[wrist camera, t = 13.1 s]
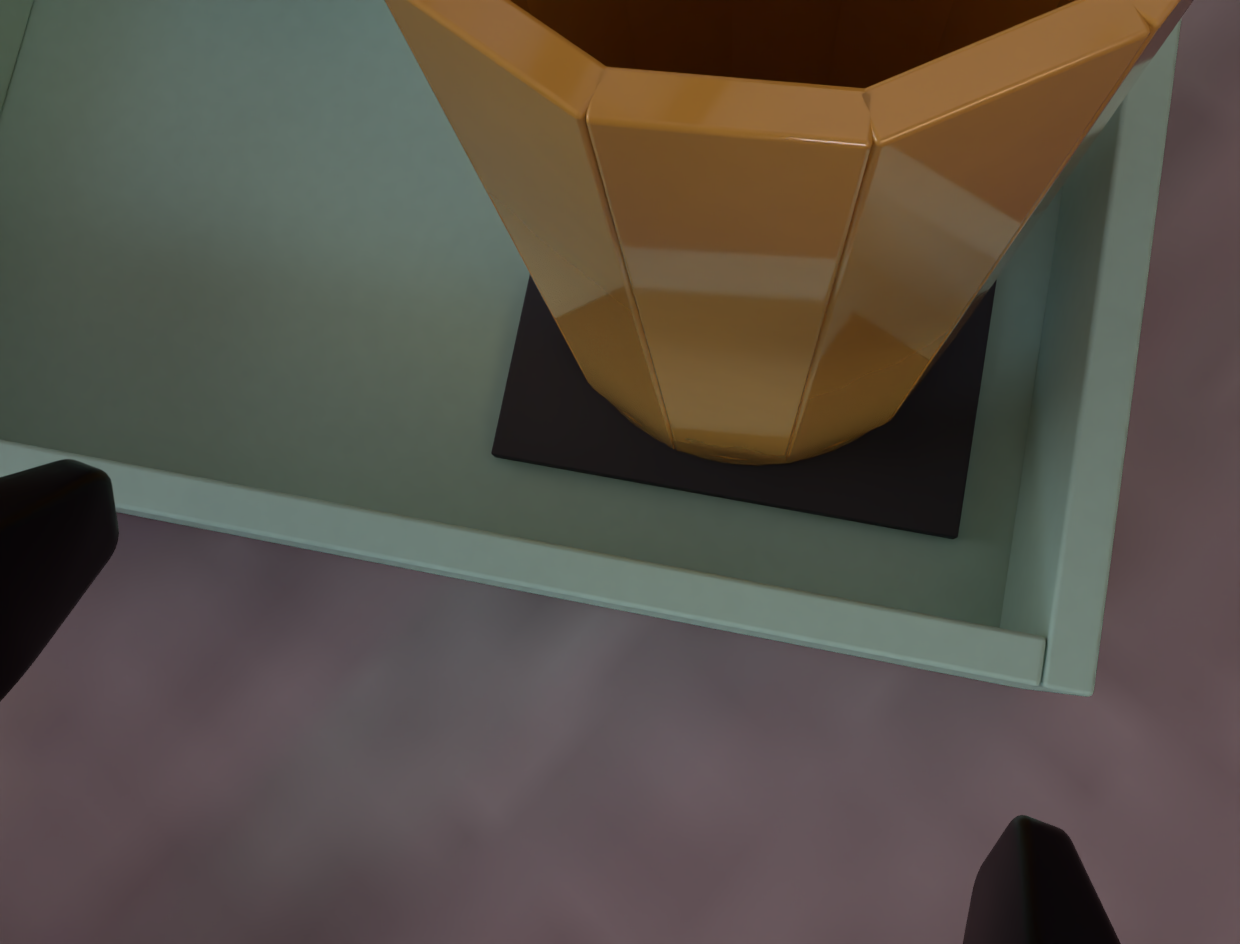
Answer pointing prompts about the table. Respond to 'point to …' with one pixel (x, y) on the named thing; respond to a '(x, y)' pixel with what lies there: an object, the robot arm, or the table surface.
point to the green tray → (491, 348)
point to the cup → (773, 184)
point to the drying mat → (822, 485)
